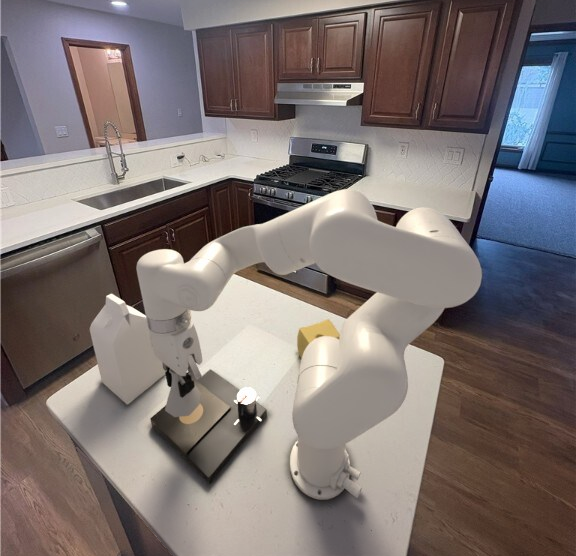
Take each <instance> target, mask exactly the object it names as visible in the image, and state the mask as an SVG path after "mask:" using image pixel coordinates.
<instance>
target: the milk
mask: <svg viewBox="0 0 576 556" xmlns="http://www.w3.org/2000/svg"><path fill="white" fill-rule="evenodd" d="M89 333H90V337H91V341H92V346H93V350H94V354H95V360H96V363H97V367H98V371H99V372H98V373H99V376H100V380H101V383H102V384H104V385H105V386H106V388H108V389H109V390H110V391H111V392H113V394H115V395H116V396H117V398H119V399H120V400H121V401H122V402H124V403H125V404H126V405H127V406H128V405H129V404H130V403H132V402H133V401H134V400H136V399H137V398H138V397H139V396H140V395H142V394H143V393H144V392H145V391H147V390H148V389H149V388H150V387H152V386H153V385H154V384H155V383H157V382H158V381H159V380H160V379H161V378H163V377H164V376H166V375H165V372H166V371H165V370H164V369H163V364H162V361H161V360H159V359H158V358H157V357H156V356H155V354H154V352H153V349H152V344H151V339H150V331H149V328H148V324H147V319H146V314H145V313H142V312H140V310H137V309H136V308H134V307H133V306H131V305H128V304H126V302H125V301H124V300H123V299H121V298H120V297H118V296H117V295H115V294H114V293H109V294H108V295H106V296H105V304H104V306H103V307H102V308H101V310H100V311H99V312H98V313H97V315H96V316H95V318H94V319H93V321H91V324H90V326H89Z"/></svg>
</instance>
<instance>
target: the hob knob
mask: <svg viewBox="0 0 576 556" xmlns="http://www.w3.org/2000/svg"><path fill="white" fill-rule="evenodd" d="M239 390H240V391H239V392H238V394H237V404H238V414H239V416H240V417H241V418H243V419H250V418H252V417H253V416H254V415H255V414H256V410H257V407H256V402H257V401H256V399H257V392H256V390H255V389H254V388H252V387H243V388H241V389H239Z"/></svg>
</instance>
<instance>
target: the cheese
mask: <svg viewBox="0 0 576 556" xmlns="http://www.w3.org/2000/svg"><path fill="white" fill-rule="evenodd" d="M322 336H331V337H335V338H337V339H339V337H340V332H339V331H338V330H337V328H336V326H335V325H334V324H333V322H332V321H331V320H330V319H329V318H328V319H325V320H323V321H320V322H316V323H313V324H310V325H307V326H302V327H299V329H298V332H297V336H296V337H297V338H296V347H297V348H296V349H297V352H298V356H299V357H300V359H302V356H303V353H304V351H305V349H306V347H307V346H308V345H309V343H310V342H312V341H313V340H314V339H316V338H319V337H322Z"/></svg>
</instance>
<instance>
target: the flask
mask: <svg viewBox="0 0 576 556" xmlns="http://www.w3.org/2000/svg"><path fill="white" fill-rule="evenodd" d="M169 372H170V373H171V374H172V385H171V387H170V390H169V392H168V397H167V400H166V404H165V405H166V408H165V411H166V412H168V413H169V414H171V415H172V416H174V417H181V416H189V415H190V414H191V413H192V412H193V411H194V410H195V409H196V408H197V407H198V406H199V404H200V398H201V391H200V390H199V389H198V388H197V387H196V386H195V387H194V388H193V389H192V391H191V392H189V393H188V394H187V395H185V396H184V397H183V398H182V397H180V393H179V388H178V382H179V377H178V374H177V373H176V372H174V371H173V370H172V369H170V370H169ZM187 372H188V371H187ZM187 372H186V373H187ZM194 385H195V384H194Z"/></svg>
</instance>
